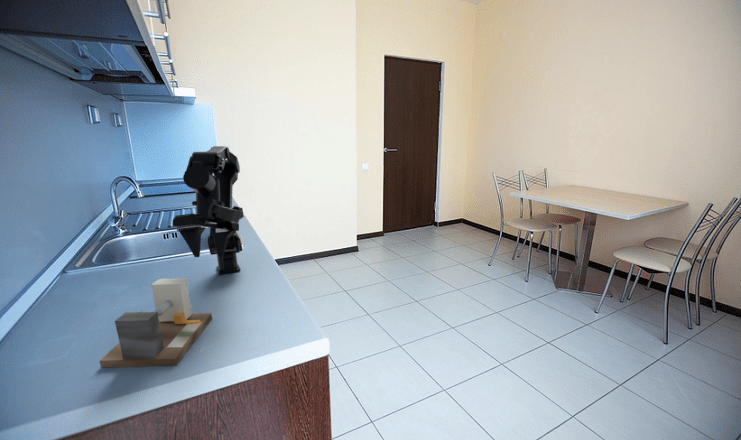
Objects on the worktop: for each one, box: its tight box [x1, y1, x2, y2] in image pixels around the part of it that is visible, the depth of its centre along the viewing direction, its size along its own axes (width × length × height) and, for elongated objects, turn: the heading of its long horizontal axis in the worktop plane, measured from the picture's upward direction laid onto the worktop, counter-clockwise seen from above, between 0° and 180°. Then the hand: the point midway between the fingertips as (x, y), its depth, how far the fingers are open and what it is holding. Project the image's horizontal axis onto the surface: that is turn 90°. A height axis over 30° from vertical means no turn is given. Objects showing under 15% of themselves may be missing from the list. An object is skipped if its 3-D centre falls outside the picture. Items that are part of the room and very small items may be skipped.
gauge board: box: [99, 311, 213, 369], centre depth 71 cm, size 16×14×10 cm
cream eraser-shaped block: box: [151, 277, 193, 321], centre depth 74 cm, size 7×6×9 cm
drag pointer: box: [174, 313, 201, 324], centre depth 75 cm, size 1×5×2 cm, turn 92°
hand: (209, 257), depth 87 cm, fingers open, 9 cm apart
